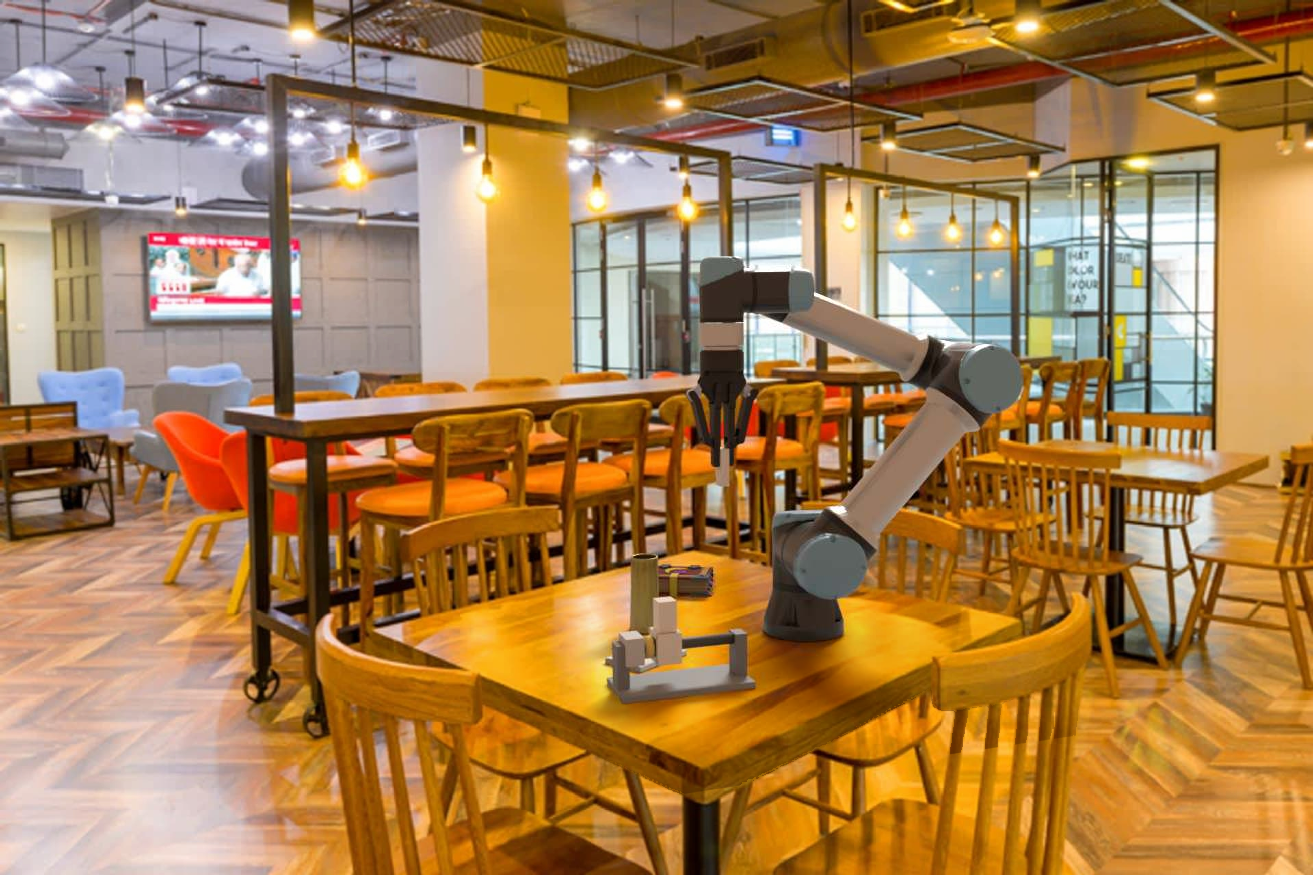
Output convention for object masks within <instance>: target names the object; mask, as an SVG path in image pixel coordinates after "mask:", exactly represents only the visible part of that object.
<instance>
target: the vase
mask: <svg viewBox="0 0 1313 875" xmlns="http://www.w3.org/2000/svg"><path fill="white" fill-rule="evenodd" d="M658 566H659V556H658V555H657V554H653V553H636V554H632V555H631V556H630V603H629V604H630V611H629V617H630V618H629V631H637V632H638V633H639V634H641V635H643V634H649V627H654V626H653V598H660V595H659V578H658Z"/></svg>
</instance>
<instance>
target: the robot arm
mask: <svg viewBox="0 0 1313 875" xmlns="http://www.w3.org/2000/svg"><path fill="white" fill-rule="evenodd" d="M744 263H745V262H744V259H743V258H742V257H740V256H709V257H708V256H707V257H705V258H703V259H702V260H701V262H700V264H699V280H698V281H699V282H698V296H699V297H698V298H699V300H698V302H699V303H698V304H699V307H698V308H699V346H700V347H702V348H703V349H701V350H700V352H699V378H698V379H697V381H696V382H697V384H696V385H695V386H693V387H692V388H691V389H686V390H685V392H684V395H685V397H686V398H687V401H688V402H689V403H690V405H691V406H690V407H691V410H692V414H693V418H694V422H695V426H696V431H697V436H698V439H699V443H700V444H701V445H703V446H707V447H709V450H710V465H711V467H713V468H715V485H716V486H718V487H721V488H725V487H726V488H727V487H730V467H734V465H735V449H736V448H737V446H739V445H742V444H744V443H745V440H746V439H747V438H746V436H747V432H748V429H749V424H750V419H751V416H752V414H751V413H752V410H753V405H754V402H755V400H756V399H757V397H758V395H759V394H760V391H759V389H758V388H754V387H753V386H750V385H749V384H748V383H747V379H746V377H745V374H744V371H745V361H744V360H745V351H744V350H743V349H741V347H743V346H745V336H744V334H745V333H744V332H745V331H744V330H745V326H744V320H745V319H744V318H745V314H747V313H748V314H754V315H761V316H763V317H766V318H768V319H770V320H773V321H775V322H778V323H781V324H783V325H785V326H788V327H790V328H793V329H794V330H796V331H800V332H801V333H805V334H806V335H808V336H812V337H813V338H815V339H817V340H821V341H822V342H826V343H827V344H830V345H832V346H834V347H836V348H839V349H841V350H844V351H846V352H848V353H852V354H853V355H855V356H858V357H860V358H863V359H865V360H868V361H870V362H872V363H874V364H877V365H879V366H881V367H884V368H886V369H888V370H890V371H893V372H895V373H898V374H899V377H900V380H901V381H903V382H905V383H907V384H909V385H911V386H914V387H915V388H918V389H920V390H922V391H923V392H925V398H926V399H925V403H924V404H923V405H922V407H921V408H920V409H919V410H918V411H917V412H916V414H915V415H914V416H913V417H912V419H911V420H910V421H909V422H908V423H906V426H905V427H904V428H903V429H902V430H901V431H900V432H899V434H898V435H897V436H896V438H894V440H892V442H891V443H890V444H889V445H888V447H887V448H886V449H885V450H884V452H882V454H881V455H880V456H879V457H878V459H876V461H875V462H874V463H873V465H872V466H871V467H870V468H869V469H868V470H867V472H866V473H865V474H864V475H863V477H862V478H861V479H860V480H859V481H858V482H857V484H855V486H854V487H853V488H852V489H851V491H850V492H849V493H848V494H847V495H846V497H844V499H843V500H842V501H841V502H840V503H839V504H837V505H831V506H825V508H824V509H821V510H820V509H813V510H812V509H807V510H805V509H804V510H802V509H799V510H786V511H785V510H784V511H778V512H776V513H774V515H773V516H772V525H771V533H772V534H771V536H772V538H771V539H772V543H771V544H772V546H771V547H772V548H771V549H772V550H771V551H772V559H771V560H772V566H771V567H772V589H771V590H772V591H771V594H770V597H769V600H768V603H767V605H766V609H765V612H764V615H763V620H762V622H763V624H762V626H763V627H762V628H763V629H762V630H763V632H765V634H767V635H769V636H771V637H773V638H777V639H782V640H787V641H794V642H818V641H819V642H820V641H826V640H832V639H835V638H838V637H840V636H842V635H843V633H844V632H845V630H844V628H845V626H844V624H845V623H844V617H843V614H842V611H841V608H840V604H839V601H838V599H843V598H846V597H848V596H849V595H852V594H853V593H854V592H856V591H857V589H858V588H860V586H861V585H862V583H863V582H864V580H865V578H866V575H867V570H868V569H867V567H868V562H869V561H870V559H872V558H873V556H874V555H875V554H876V552H877V551H878V550H879V549H878V548H879V546H878V536H879V535H880V534H881V533H882V532H883V531H884V529H885V528H886V527H887V525H889V523H890V522H891V521H892V520H893V518H894V517H896V515H897V514H898V513H899V512H900V510H902V509H903V506H905V504H906V503H907V502H908V501H909V500H910V498H912V496H913V495H914V494H915V493H916V492H917V490H918V489H919V488H920V487H921V486H922V485H923V483H924V482H926V480H927V478H928V477H930V475H931V474H932V473H933V471H934V470H935V469H936V468H937V467H938V465H940V463H941V462H942V461H943V459H945V457H946V456H947V455H948V453H949V452H950V451H951V450H952V449H953V448H954V447H955V445H956V444H957V443H958V442H959V441H960V439H961V438H962V437H963V436H964V435H965V434H966V433H975V432H979V431H980V430H981V429H982V428H983V427H984V425H985V424H986V422H987V421H988V420H989V419H990V418H991V417H992V416H993V414H999V413H1002V412H1003V411H1006V410H1008V409H1010V408H1011V407H1012V406H1013V405H1014V404H1015V403H1016V402H1017V400H1019V399H1018V398H1019V397H1020V395H1021V393H1022V391H1023V386H1024V377H1023V376H1024V375H1023V369H1022V366H1021V364H1020V362H1019V360H1018V358H1017V357H1016V356H1015V354H1013V353H1012V352H1011V351H1010V350H1009V349H1007V348H1006V347H1003V346H1000V345H996V344H995V343H991V342H980V343H972V342H960V341H959V342H958V341H948V340H943V339H940V338H936V337H935V336H931V335H929V334H926V333H919V334H918V335H916V334H913V333H909V332H908V331H906V330H903V329H901V328H899V327H896V326H894V325H891V324H889V323H888V322H884V321H882V320H880V319H878V318H876V317H875V318H874V317H873V316H870V315H868V314H867V313H863V312H861V311H859V310H857V309H854V308H851V307H850V306H847V305H845V304H842V303H840V302H838V301H836V300H833V299H832V298H829V297H826V296H825V295H823V294H822V295H821V294H819V293H817V292H815V291H816V290H815V289H816V288H815V287H816V285H815V279H814V275H813V273H812V272H811V270H810V269H807V268H797V267H789V268H788V267H785V268H783V267H781V268H780V267H779V268H745V265H744ZM702 394H703V395H702ZM740 395H741V396H742V399H741V402H740V406H739V411H738V416H737V419H736V407H737V399H738V397H739V396H740ZM702 396H704V397H705V398H706V400H707V401H708V402H707V404H708V408H709V409H708V410H709V416H708V417H709V419H708V421H709V427H708V422H707V420H706V414H705V410H704V405H703V403H702V400H701V398H702ZM722 408H723V409H722ZM722 410H723V411H722ZM722 412H723V414H722ZM722 416H723V417H722ZM722 419H723V421H722ZM736 420H737V421H736ZM722 422H723V446H724V447H723V446H722Z"/></svg>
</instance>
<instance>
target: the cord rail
mask: <svg viewBox="0 0 1313 875" xmlns="http://www.w3.org/2000/svg"><path fill="white" fill-rule="evenodd" d="M724 645H728V653H729V654H728V660H729V661H728V663H724V664H718V665H717V664H715V665H708V666H707V665H706V666H698V667H691V668H680V669H673V670H664V671H663V670H662V671H654V672H645V673H644V672H643V673H636V674H631V672H630V671H631V670H630V667H634V666H643V665H645V659H649V658H653V657H654V654H655V652H656V641H653V638H652V636H651V635H649V634H648V635H643V634H642V633H638V632H637V631H630V630H629V631H622V632H618V640H617V641H616V640H615V641H612V642H611V649H612V650H611V651H612V652H611V656H612V665H611V667H612V676H610V677H606V681H607V682H606V684H607V685H608V687H609V688H610V689H611V690H612V692H614V694H615V695H616V696H617V698H619V700H620V701H621V702H622V703H623V704H632V703H633V704H634V703H642V702H649V701H659V700H665V699H666V700H667V699H674V698H682V697H684V698H685V697H692V696H699V695H706V694H717V693H722V692H723V693H725V692H732V691H739V690H748V689H749V690H750V689H755V688H757V687H756V685H757V684H756V683H757V681H755V680H754V679H753V678H751V677H750V676H749V675H748V632H746V631H744V630H743V629H742V628H734V629H732V628H731V629H728V632H724V633H715V634H707V635H706V634H705V635H695V636H686V637H682V649H685V650H687V649H696V648H697V649H698V648H705V647H715V646H724Z"/></svg>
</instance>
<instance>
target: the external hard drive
mask: <svg viewBox="0 0 1313 875" xmlns="http://www.w3.org/2000/svg"><path fill="white" fill-rule="evenodd" d="M687 653H688V652H687V649H682V658H683V657H685V656H687ZM604 663H605V664H606V665H610V666H612V655H611V656H607V657H605V659H604ZM657 667H659V666H658V665H657V664H656V663H655V662H654V661H653V660H652V659H651V658H649V659H645V665H643V666H634V667H630V671H632V672H637V673H639V674H642V673H644V672H646V671H649V670H651V669H654V668H657Z"/></svg>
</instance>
